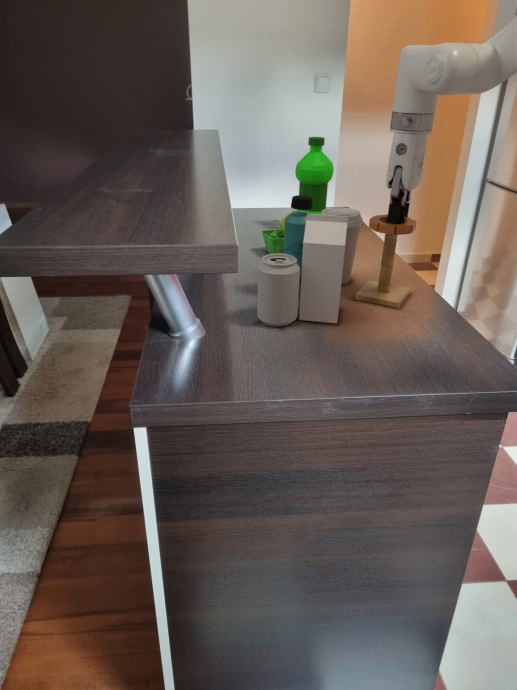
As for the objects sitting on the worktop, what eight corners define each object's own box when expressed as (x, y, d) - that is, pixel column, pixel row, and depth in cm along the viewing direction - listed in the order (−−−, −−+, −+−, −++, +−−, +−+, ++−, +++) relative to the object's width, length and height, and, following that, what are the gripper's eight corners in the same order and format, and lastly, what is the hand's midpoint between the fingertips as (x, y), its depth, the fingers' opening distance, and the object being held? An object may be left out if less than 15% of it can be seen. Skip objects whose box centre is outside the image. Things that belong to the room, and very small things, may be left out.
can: (292, 310, 100) (295, 250, 94) (301, 327, 93) (305, 264, 87) (254, 312, 98) (254, 251, 93) (260, 329, 92) (262, 266, 86)
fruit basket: (300, 245, 135) (303, 202, 130) (315, 256, 128) (318, 211, 123) (260, 250, 132) (260, 205, 126) (273, 261, 124) (274, 214, 119)
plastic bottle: (303, 237, 142) (309, 141, 130) (287, 227, 151) (291, 136, 139) (335, 233, 146) (343, 139, 134) (317, 224, 154) (323, 134, 142)
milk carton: (337, 324, 94) (347, 221, 85) (298, 320, 95) (304, 219, 86) (338, 308, 100) (348, 211, 91) (302, 305, 102) (308, 209, 92)
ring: (418, 226, 101) (419, 218, 101) (408, 237, 95) (409, 228, 94) (377, 220, 105) (378, 212, 104) (364, 230, 98) (365, 222, 97)
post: (409, 293, 108) (420, 231, 102) (398, 308, 101) (408, 243, 95) (368, 285, 112) (375, 225, 105) (354, 299, 105) (362, 236, 98)
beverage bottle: (273, 293, 107) (277, 195, 97) (295, 285, 111) (301, 191, 101) (296, 303, 103) (302, 201, 93) (318, 294, 107) (326, 196, 97)
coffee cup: (309, 284, 111) (314, 215, 104) (317, 269, 119) (322, 204, 112) (354, 289, 109) (362, 219, 102) (358, 274, 117) (366, 208, 110)
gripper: (422, 128, 86) (405, 236, 94) (441, 121, 98) (424, 217, 107) (378, 125, 89) (366, 230, 98) (402, 119, 101) (389, 212, 110)
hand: (396, 222), depth 102 cm, fingers closed on ring, 2 cm apart
